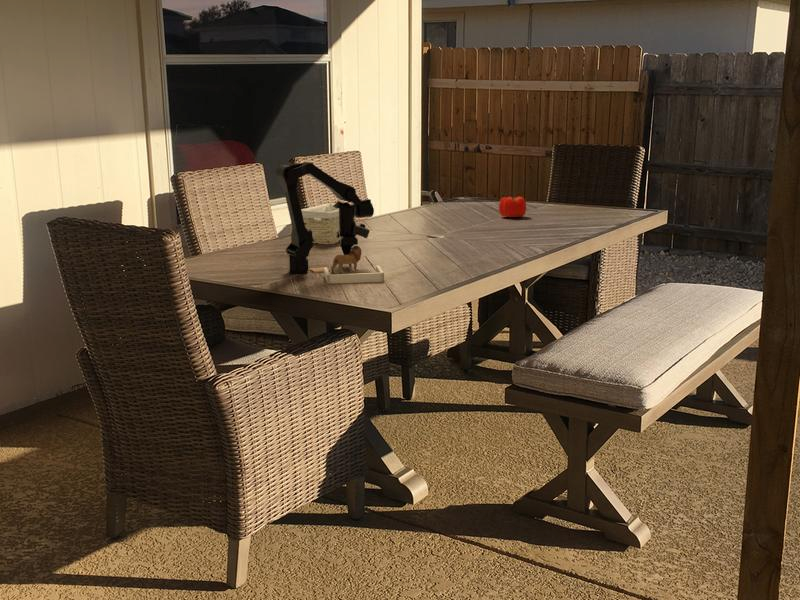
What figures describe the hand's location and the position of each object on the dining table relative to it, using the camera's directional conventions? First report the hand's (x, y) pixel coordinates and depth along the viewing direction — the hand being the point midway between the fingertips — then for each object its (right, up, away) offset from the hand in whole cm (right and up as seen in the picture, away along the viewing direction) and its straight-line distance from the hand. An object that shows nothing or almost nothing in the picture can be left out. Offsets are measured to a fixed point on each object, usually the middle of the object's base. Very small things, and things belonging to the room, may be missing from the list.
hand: (347, 259), depth 366 cm
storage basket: (-11, +11, +59) cm, 61 cm away
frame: (+3, -7, -21) cm, 23 cm away
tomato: (+76, +26, +120) cm, 145 cm away
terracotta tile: (-10, -5, -7) cm, 13 cm away
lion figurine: (0, -5, -8) cm, 9 cm away
